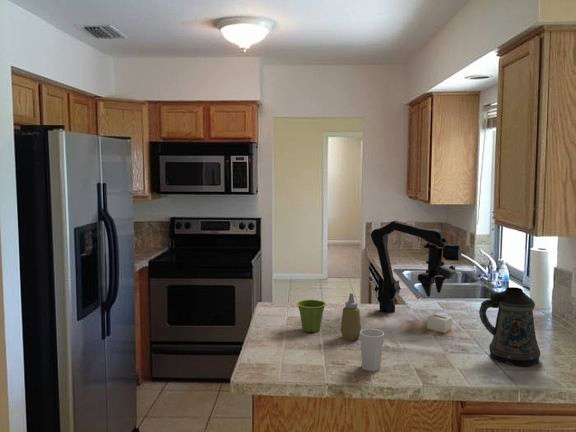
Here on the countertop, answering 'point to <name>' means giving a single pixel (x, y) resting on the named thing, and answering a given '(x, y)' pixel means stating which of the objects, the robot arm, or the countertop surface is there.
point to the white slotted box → (439, 323)
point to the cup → (371, 349)
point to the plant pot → (311, 314)
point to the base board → (421, 328)
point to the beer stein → (512, 328)
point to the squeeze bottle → (351, 320)
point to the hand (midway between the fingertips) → (433, 294)
